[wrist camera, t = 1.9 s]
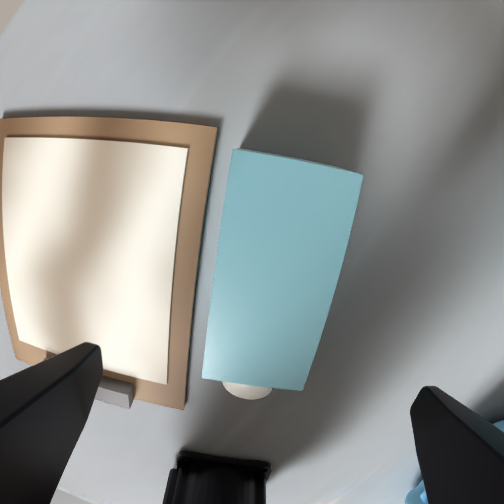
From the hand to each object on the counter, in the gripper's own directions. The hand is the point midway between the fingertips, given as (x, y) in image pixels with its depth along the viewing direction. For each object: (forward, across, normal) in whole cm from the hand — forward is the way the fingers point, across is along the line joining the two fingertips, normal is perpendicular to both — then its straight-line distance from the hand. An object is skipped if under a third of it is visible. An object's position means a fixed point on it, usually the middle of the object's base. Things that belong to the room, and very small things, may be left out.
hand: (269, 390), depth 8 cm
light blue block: (+7, 0, 0) cm, 7 cm away
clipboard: (+7, +9, +1) cm, 12 cm away
